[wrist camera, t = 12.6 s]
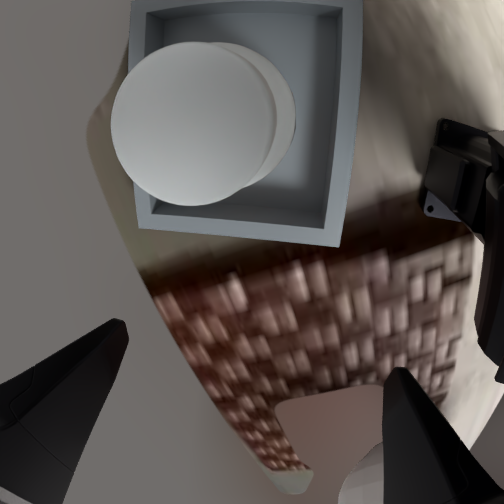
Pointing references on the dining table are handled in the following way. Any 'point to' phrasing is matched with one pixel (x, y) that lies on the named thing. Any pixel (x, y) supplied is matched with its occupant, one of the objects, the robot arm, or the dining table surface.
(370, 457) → the pitcher
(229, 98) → the pill bottle
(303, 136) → the tray
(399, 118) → the dining table surface
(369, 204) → the dining table surface
